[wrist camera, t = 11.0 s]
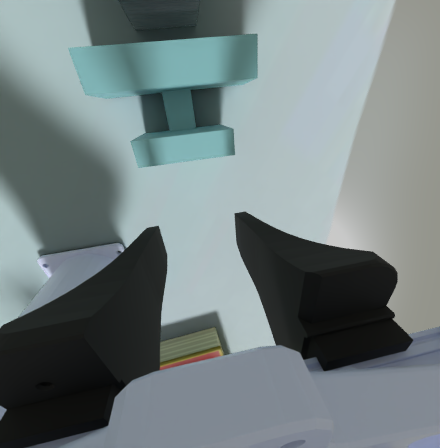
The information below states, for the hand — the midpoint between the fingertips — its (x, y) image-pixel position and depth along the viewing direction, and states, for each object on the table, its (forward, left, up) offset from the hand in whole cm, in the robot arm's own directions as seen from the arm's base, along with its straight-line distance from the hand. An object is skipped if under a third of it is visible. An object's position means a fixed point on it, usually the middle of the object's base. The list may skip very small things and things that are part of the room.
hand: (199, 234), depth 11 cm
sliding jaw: (+6, 0, -8) cm, 10 cm away
